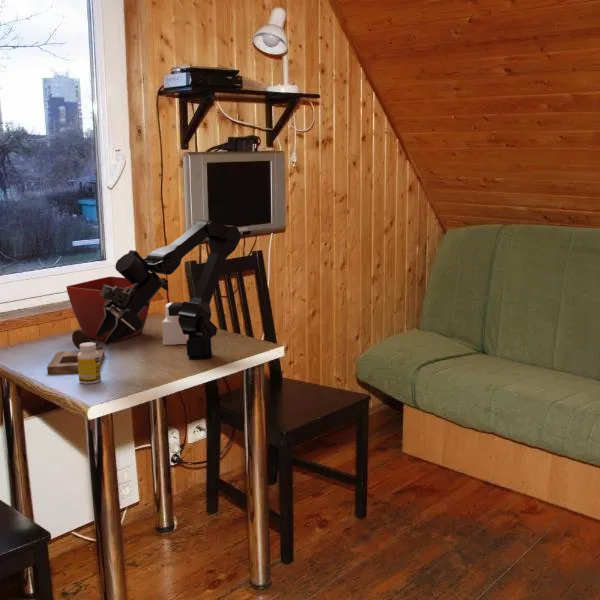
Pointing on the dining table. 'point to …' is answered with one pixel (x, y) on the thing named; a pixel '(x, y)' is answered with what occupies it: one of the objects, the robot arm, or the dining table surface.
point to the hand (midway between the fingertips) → (101, 339)
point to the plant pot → (96, 304)
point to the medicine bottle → (173, 325)
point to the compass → (82, 339)
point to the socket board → (68, 362)
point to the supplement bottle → (89, 364)
